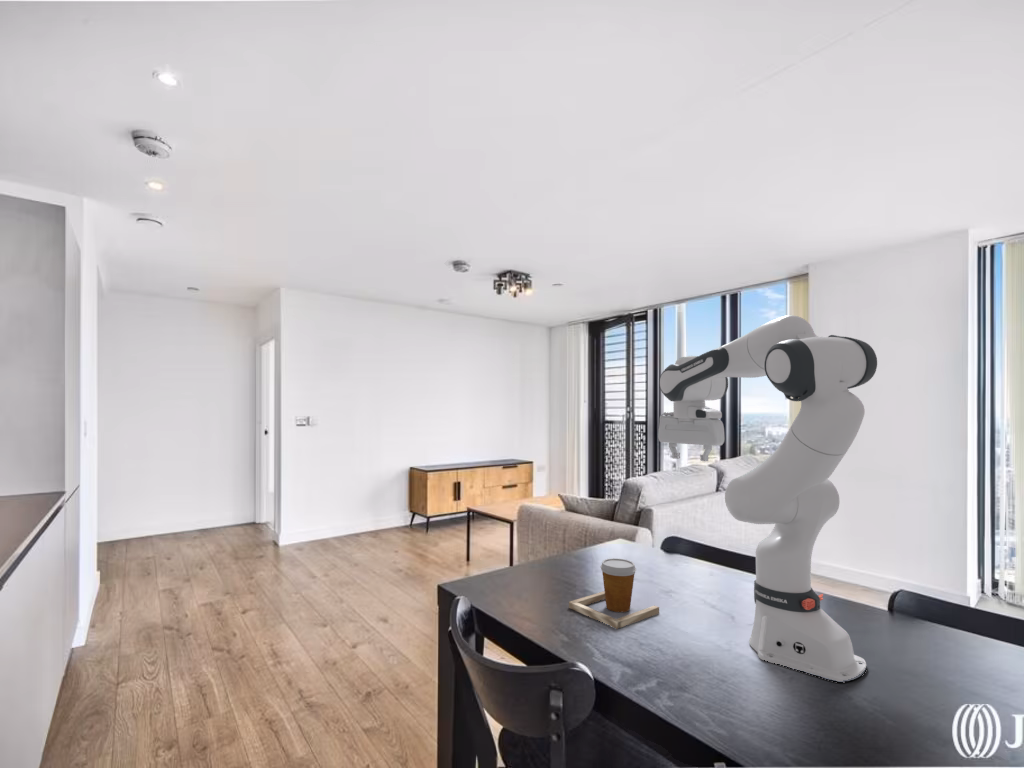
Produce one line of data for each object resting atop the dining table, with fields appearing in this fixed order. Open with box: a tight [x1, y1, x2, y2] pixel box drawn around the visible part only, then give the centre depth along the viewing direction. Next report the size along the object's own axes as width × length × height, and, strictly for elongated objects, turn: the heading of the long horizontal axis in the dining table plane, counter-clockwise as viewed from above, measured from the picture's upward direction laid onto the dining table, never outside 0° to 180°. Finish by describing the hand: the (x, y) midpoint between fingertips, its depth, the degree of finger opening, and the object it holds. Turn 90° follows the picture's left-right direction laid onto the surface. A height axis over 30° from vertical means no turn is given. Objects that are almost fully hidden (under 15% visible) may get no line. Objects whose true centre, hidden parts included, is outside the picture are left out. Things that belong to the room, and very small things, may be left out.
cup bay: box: [568, 591, 660, 630], centre depth 140 cm, size 17×16×2 cm
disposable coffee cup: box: [600, 558, 637, 613], centre depth 142 cm, size 10×10×12 cm
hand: (689, 459), depth 152 cm, fingers open, 8 cm apart
